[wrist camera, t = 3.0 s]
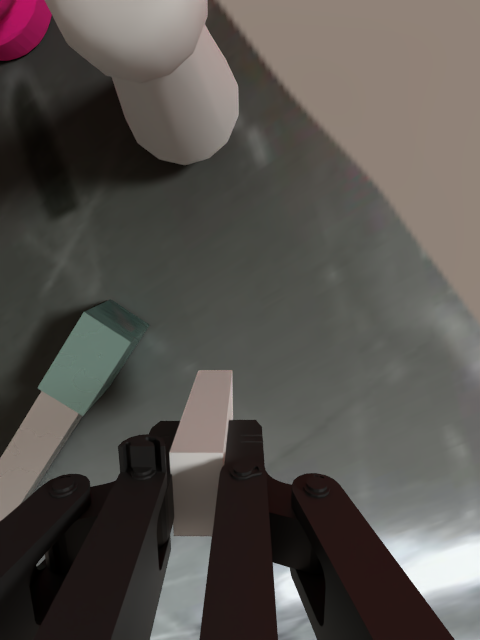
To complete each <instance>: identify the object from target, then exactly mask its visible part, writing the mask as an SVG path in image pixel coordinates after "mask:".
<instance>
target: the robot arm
mask: <svg viewBox="0 0 480 640" xmlns="http://www.w3.org/2000/svg"><path fill="white" fill-rule="evenodd" d="M118 451H119V463H120V474H119V476H118V478H117V480H116V481H114V482H111V483H107V484H103V485H98V486H93V487H90V481H89V480H88V478H87V477H86V476H83V475H80V474H67V475H62V476H59V477H57V478H54V479H52V480H50V481H48V482H47V483H45V484H44V485H43V486H41V487H40V488H39V489H38V490H37V491H35V492H34V493H33V494H32V495H31V496H30V497H28V498H27V499H26V500H25V501H24V502H22V503H21V504H20V505H19V506H18V507H17V508H15V509H14V510H13V511H12V512H11V513H9V514H8V515H7V516H6V517H5V518H4V519H2V520H1V521H0V640H150V636H151V631H152V627H153V623H154V619H155V615H156V610H157V606H158V602H159V598H160V593H161V589H162V585H163V581H164V577H165V572H166V568H167V564H168V560H169V556H170V551H171V540H170V533H171V529H172V525H173V527H174V536H212V541H211V549H210V558H209V566H208V574H207V583H206V591H205V599H204V608H203V616H202V624H201V632H200V640H278V634H277V620H276V605H275V591H274V577H273V563H272V562H274V563H277V564H280V565H284V566H287V567H290V571H291V576H292V579H293V581H294V583H295V586H296V588H297V591H298V593H299V596H300V598H301V601H302V603H303V606H304V608H305V611H306V613H307V615H308V618H309V620H310V623H311V625H312V628H313V630H314V633H315V635H316V638H317V640H454V638H453V637H452V636H451V634H450V633H449V631H448V630H447V629H446V627H445V626H444V625H443V623H442V622H441V621H440V619H439V618H438V617H437V615H436V614H435V613H434V611H433V610H432V609H431V607H430V606H429V604H428V603H427V602H426V600H425V599H424V598H423V596H422V595H421V594H420V592H419V591H418V590H417V588H416V587H415V586H414V584H413V583H412V582H411V580H410V579H409V578H408V576H407V575H406V573H405V572H404V571H403V569H402V568H401V567H400V565H399V564H398V563H397V561H396V560H395V559H394V557H393V556H392V555H391V553H390V552H389V551H388V549H387V548H386V547H385V545H384V544H383V542H382V541H381V540H380V538H379V537H378V536H377V534H376V533H375V532H374V530H373V529H372V528H371V526H370V525H369V524H368V522H367V521H366V520H365V518H364V517H363V515H362V514H361V513H360V511H359V510H358V509H357V507H356V506H355V505H354V503H353V502H352V501H351V499H350V498H349V497H348V495H347V494H346V493H345V491H344V490H343V489H342V487H341V486H340V485H339V484H338V483H337V482H336V481H335V480H334V479H332V478H330V477H328V476H326V475H322V474H317V473H311V474H304V475H301V476H299V477H297V478H296V479H295V480H294V481H293V484H292V485H290V484H286V483H283V482H279V481H277V480H275V479H273V478H272V477H271V476H269V475H268V473H267V472H266V470H265V467H264V452H263V438H262V427H261V426H260V424H259V423H258V422H257V421H256V420H233V389H232V370H198V373H197V376H196V378H195V381H194V384H193V387H192V390H191V393H190V395H189V398H188V401H187V404H186V407H185V410H184V412H183V415H182V418H181V421H160V422H159V423H157V424H156V425H155V426H154V427H152V429H151V431H150V433H149V435H148V434H146V435H138V436H134V437H131V438H128V439H127V440H125V441H123V442H122V443H121V444H120V445H119V446H118ZM44 555H45V560H44V561H43V562H42V563H41V564H40V565H39V566H37V567H36V564H37V563H38V561H39V560H40V559H41V558H42V557H43V556H44Z"/></svg>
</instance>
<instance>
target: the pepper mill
mask: <svg viewBox="0 0 480 640" xmlns="http://www.w3.org/2000/svg"><path fill="white" fill-rule="evenodd" d="M51 16H52V14H51V12H50V10H49V8H48V6H47V4H46V2H45V0H0V61H8V60H13V59H17V58H19V57H21V56H24V55H26V54H27V53H29V52H30V51H31V50H32V49H33V48H34V47H36V46H37V45H38V44H39V43H40V42H41V40H42V38H43V37H44V35H45V33H46V31H47V29H48V27H49V23H50V20H51Z"/></svg>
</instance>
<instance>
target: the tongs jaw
mask: <svg viewBox="0 0 480 640" xmlns="http://www.w3.org/2000/svg"><path fill="white" fill-rule="evenodd" d="M148 327H149V324H147V323H146V322H144V321H143V320H141V319H140V318H138V317H137V316H135V315H134V314H132V313H131V312H129V311H127V310H126V309H124V308H123V307H121V306H120V305H118V304H117V303H115V302H114V301H112V300H111V299H110V300H108V301H106V302H104V303H102V304H100V305H98V306H95V307H93V308H91V309H89V310H87V311H85V312H83V314H82V316H81V317H80V319H79V321H78V322H77V324H76V326H75V327H74V329H73V330H72V332H71V334H70V335H69V337H68V339H67V340H66V342H65V344H64V345H63V347H62V348H61V350H60V352H59V353H58V355H57V357H56V358H55V360H54V362H53V363H52V365H51V366H50V368H49V370H48V371H47V373H46V375H45V376H44V378H43V380H42V381H41V383H40V384H39V386H38V389H39V390H41V393H40V395H39V396H38V398H37V399H36V401H35V403H34V404H33V406H32V408H31V409H30V411H29V412H28V414H27V416H26V417H25V419H24V421H23V422H22V424H21V425H20V427H19V429H18V430H17V432H16V434H15V435H14V437H13V438H12V440H11V442H10V443H9V445H8V447H7V448H6V450H5V452H4V453H3V455H2V456H1V458H0V521H1V520H2V519H4V518H5V517H6V516H7V515H8V514H9V513H11V512H12V511H13V510H14V509H15V508H17V507H18V506H19V505H20V504H21V503H22V502H24V501H25V500H26V499H27V498H28V497H30V496H31V495H32V494H33V492H34V490H35V489H36V487H37V486H38V484H39V483H40V481H41V480H42V478H43V477H44V475H45V474H46V472H47V470H48V469H49V467H50V466H51V464H52V463H53V461H54V460H55V458H56V457H57V455H58V454H59V452H60V450H61V449H62V447H63V446H64V444H65V443H66V441H67V440H68V438H69V437H70V435H71V433H72V432H73V430H74V429H75V427H76V426H77V424H78V423H79V421H80V420H81V418H82V417H83V416H84V415H85V413H86V412H87V411H88V410H89V409H90V408H91V407H92V406H93V405H94V404H95V402H96V401H97V400H98V399H99V398H100V397H101V396H102V395H103V394H104V393H105V391H106V390H107V389H108V388H109V387H110V385H111V384H112V382H113V380H114V379H115V377H116V376H117V374H118V373H119V371H120V370H121V368H122V367H123V365H124V364H125V362H126V361H127V359H128V358H129V356H130V354H131V353H132V351H133V350H134V348H135V347H136V345H137V344H138V342H139V341H140V339H141V338H142V336H143V335H144V333H145V331H146V330H147V328H148Z"/></svg>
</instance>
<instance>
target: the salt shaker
mask: <svg viewBox="0 0 480 640" xmlns="http://www.w3.org/2000/svg"><path fill="white" fill-rule="evenodd" d="M45 2H46V4H47V6H48V8H49V10H50V12H51V14H52V16H53V18H54V19H55V21H56V23H57V25H58V27H59V29H60V31H61V33H62V35H63V37H64V39H65V40H66V42H67V44H68V45H69V46H70V47H72V48H73V49H74V50H75V51H76V52H77V53H78V54H80V55H81V56H82V57H83V58H85V59H86V60H87V61H89V62H90V63H91V64H92V65H94V66H95V67H96V68H97V69H99V70H100V71H101V72H103V73H104V74H105V75H107V76H111V77H112V80H113V83H114V86H115V89H116V92H117V95H118V98H119V101H120V104H121V107H122V110H123V113H124V116H125V119H126V121H127V123H128V125H129V127H130V129H131V131H132V133H133V135H134V137H135V139H136V141H137V143H138V144H139V145H141V146H142V147H143V148H145V149H146V150H147V151H149V152H150V153H151V154H153V155H154V156H155V157H157V158H158V159H160V160H164V161H168V162H173V163H177V164H181V165H188V164H191V163H195V162H199V161H202V160H206V159H209V158H210V157H211V156H212V155H213V154H215V153H216V152H217V151H218V150H219V149H220V148H221V147H223V146H224V145H225V144H226V143H227V142H228V140H229V137H230V135H231V132H232V130H233V128H234V125H235V123H236V120H237V118H238V115H239V105H238V85H237V83H236V80H235V78H234V76H233V74H232V72H231V70H230V67H229V65H228V63H227V61H226V59H225V57H224V56H223V54H222V53H221V51H220V49H219V48H218V46H217V44H216V43H215V41H214V40H213V38H212V36H211V35H210V33H209V31H208V29H207V28H206V26H205V21H206V19H207V16H208V12H207V0H45Z"/></svg>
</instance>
